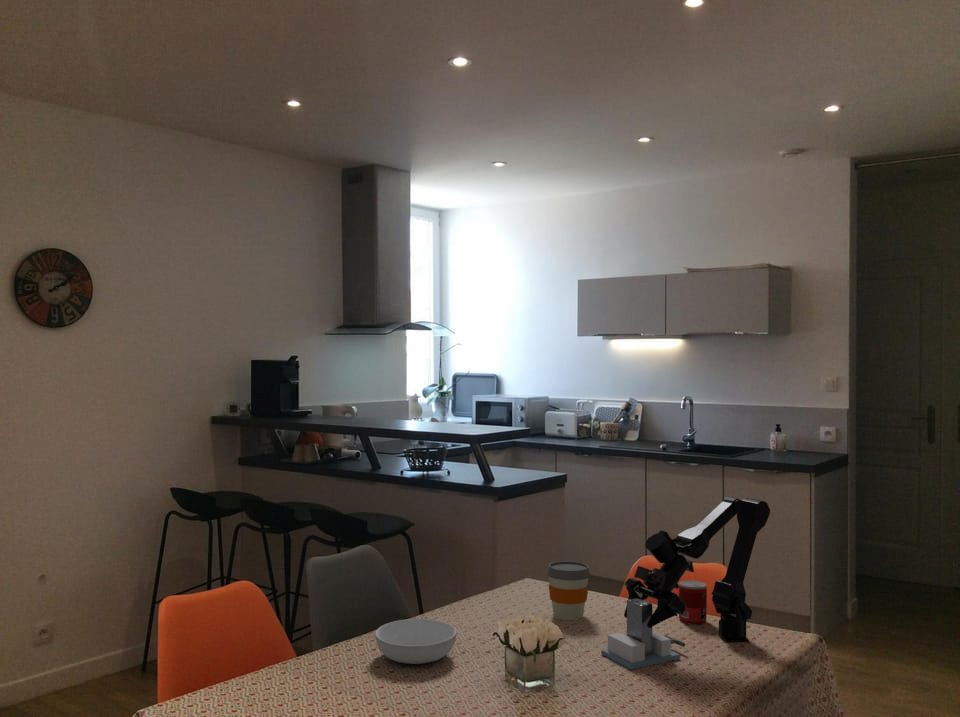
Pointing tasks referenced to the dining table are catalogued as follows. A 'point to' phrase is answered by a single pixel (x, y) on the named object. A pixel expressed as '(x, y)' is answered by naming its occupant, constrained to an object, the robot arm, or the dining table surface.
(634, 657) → the vise
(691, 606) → the canned food
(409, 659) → the serving bowl
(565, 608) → the reusable coffee cup
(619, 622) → the dining table surface
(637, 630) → the steel bar
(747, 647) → the dining table surface
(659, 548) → the robot arm
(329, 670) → the dining table surface
